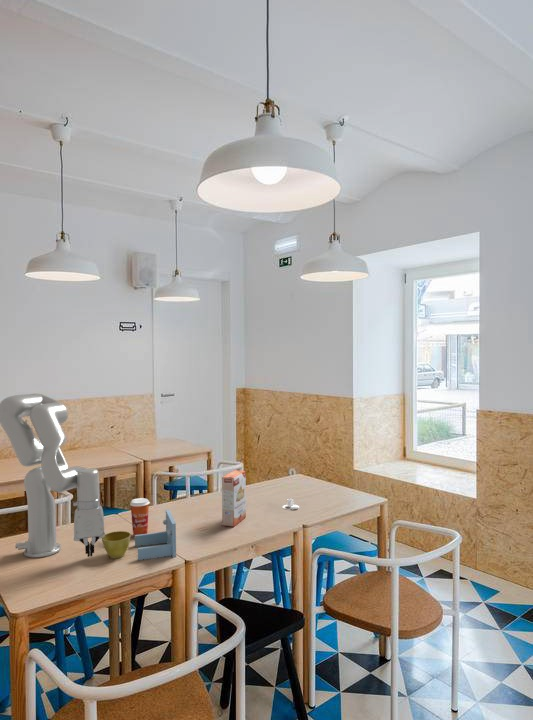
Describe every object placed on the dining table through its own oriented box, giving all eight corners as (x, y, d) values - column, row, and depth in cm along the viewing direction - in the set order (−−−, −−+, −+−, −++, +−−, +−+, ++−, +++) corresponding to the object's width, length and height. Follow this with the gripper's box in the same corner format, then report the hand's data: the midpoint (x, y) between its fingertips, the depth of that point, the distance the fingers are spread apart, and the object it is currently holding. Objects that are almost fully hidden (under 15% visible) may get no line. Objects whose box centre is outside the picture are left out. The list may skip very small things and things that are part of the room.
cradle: (138, 561, 180) (137, 527, 180) (134, 544, 197) (134, 513, 197) (176, 556, 184) (175, 523, 184) (169, 539, 201) (168, 509, 201)
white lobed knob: (299, 511, 237) (299, 502, 237) (282, 511, 237) (282, 502, 237) (298, 505, 245) (298, 497, 245) (282, 505, 246) (282, 497, 246)
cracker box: (235, 527, 214) (234, 477, 214) (221, 526, 216) (220, 476, 216) (247, 517, 228) (246, 470, 227) (234, 516, 229) (233, 469, 229)
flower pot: (108, 563, 179) (108, 543, 179) (97, 555, 187) (97, 535, 187) (135, 555, 185) (135, 536, 185) (124, 548, 193) (123, 529, 193)
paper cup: (130, 539, 203) (129, 503, 202) (130, 532, 210) (129, 498, 210) (150, 536, 205) (150, 502, 204) (149, 530, 212) (149, 497, 212)
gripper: (65, 509, 177) (67, 562, 177) (110, 504, 182) (112, 556, 182) (66, 503, 184) (68, 554, 184) (110, 499, 189) (111, 548, 189)
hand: (90, 555), depth 183 cm, fingers closed
